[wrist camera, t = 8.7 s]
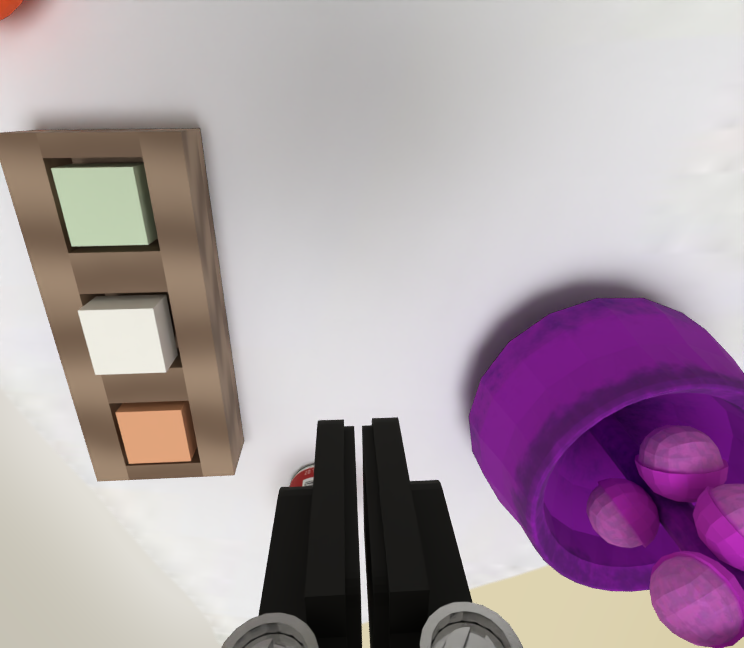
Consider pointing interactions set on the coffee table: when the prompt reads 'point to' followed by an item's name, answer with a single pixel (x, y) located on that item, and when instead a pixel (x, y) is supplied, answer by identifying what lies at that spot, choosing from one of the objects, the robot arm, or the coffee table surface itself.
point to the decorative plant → (624, 457)
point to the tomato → (8, 7)
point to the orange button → (157, 431)
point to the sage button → (106, 203)
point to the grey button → (129, 334)
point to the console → (134, 290)
